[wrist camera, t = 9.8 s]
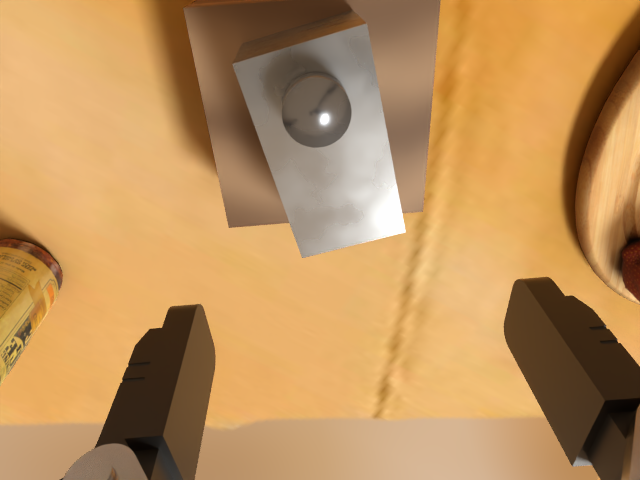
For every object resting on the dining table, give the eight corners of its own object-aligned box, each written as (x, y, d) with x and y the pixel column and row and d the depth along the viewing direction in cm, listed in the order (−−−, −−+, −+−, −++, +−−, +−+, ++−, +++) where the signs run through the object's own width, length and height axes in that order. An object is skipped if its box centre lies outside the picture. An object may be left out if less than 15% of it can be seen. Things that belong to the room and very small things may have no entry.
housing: (388, 191, 26) (411, 245, 21) (300, 214, 27) (302, 272, 22) (352, 9, 21) (371, 28, 16) (241, 43, 21) (228, 71, 16)
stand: (200, -3, 24) (183, 7, 20) (415, -19, 24) (441, -12, 20) (236, 190, 31) (228, 227, 27) (404, 176, 31) (422, 211, 27)
